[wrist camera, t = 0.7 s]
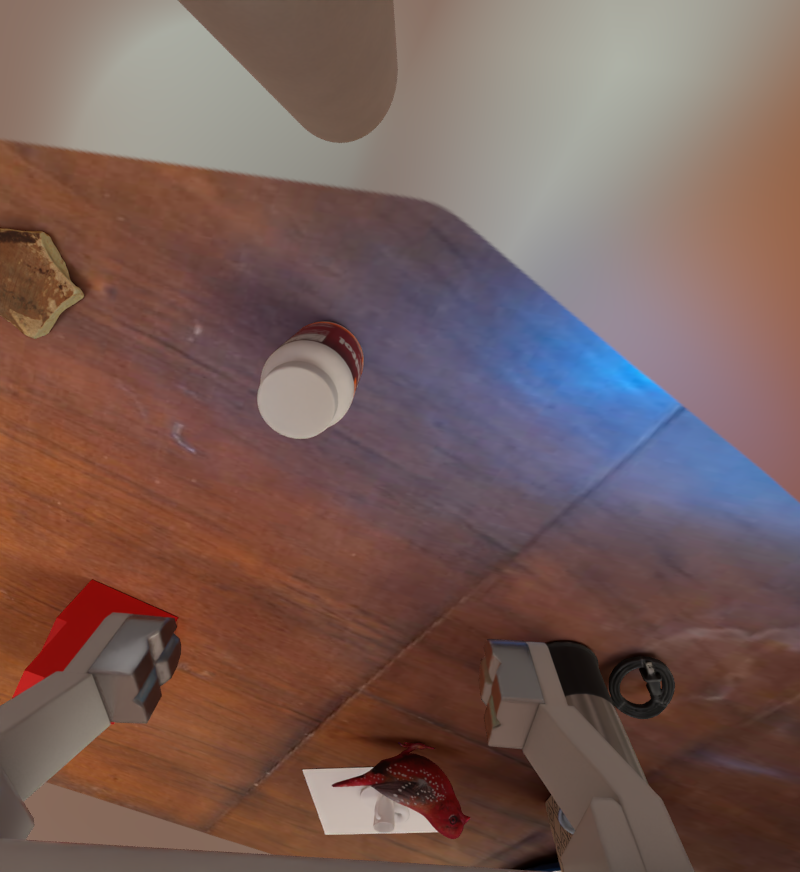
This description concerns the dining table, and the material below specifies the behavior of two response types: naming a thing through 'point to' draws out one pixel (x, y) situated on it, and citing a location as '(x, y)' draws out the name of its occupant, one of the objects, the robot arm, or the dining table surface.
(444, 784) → the decorative bird figurine
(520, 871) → the robot arm
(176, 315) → the dining table surface
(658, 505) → the dining table surface
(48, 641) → the bracket
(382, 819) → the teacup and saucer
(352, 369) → the pill bottle
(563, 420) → the dining table surface
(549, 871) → the plate
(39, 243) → the shard
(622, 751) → the milk frother
